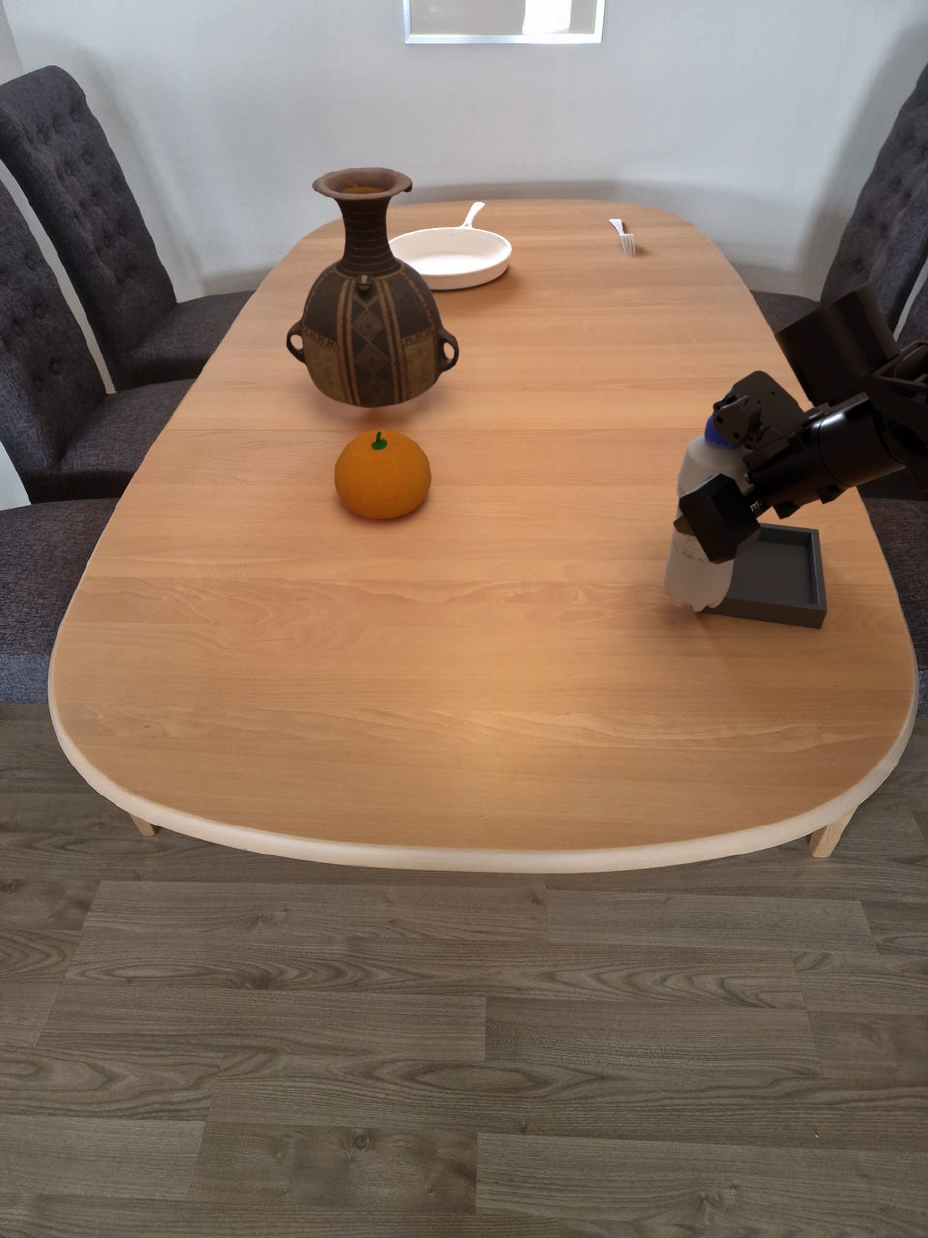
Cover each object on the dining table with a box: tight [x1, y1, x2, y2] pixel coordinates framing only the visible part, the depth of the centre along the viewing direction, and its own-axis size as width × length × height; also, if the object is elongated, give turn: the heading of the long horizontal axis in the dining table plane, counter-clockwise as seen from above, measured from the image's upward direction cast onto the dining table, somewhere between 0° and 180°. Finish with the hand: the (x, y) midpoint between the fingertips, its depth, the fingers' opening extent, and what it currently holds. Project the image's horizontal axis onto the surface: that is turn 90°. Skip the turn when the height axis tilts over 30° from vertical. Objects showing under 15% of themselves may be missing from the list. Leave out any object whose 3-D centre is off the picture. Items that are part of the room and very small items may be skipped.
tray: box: [699, 522, 828, 630], centre depth 87 cm, size 13×14×2 cm
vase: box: [285, 166, 460, 409], centre depth 107 cm, size 23×19×30 cm
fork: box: [609, 218, 636, 257], centre depth 164 cm, size 3×21×3 cm, turn 1°
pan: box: [388, 201, 513, 292], centre depth 158 cm, size 25×38×5 cm, turn 164°
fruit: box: [333, 428, 432, 520], centre depth 97 cm, size 12×12×10 cm
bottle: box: [663, 414, 754, 613], centre depth 74 cm, size 7×7×20 cm
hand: (697, 511), depth 75 cm, fingers closed on bottle, 6 cm apart
